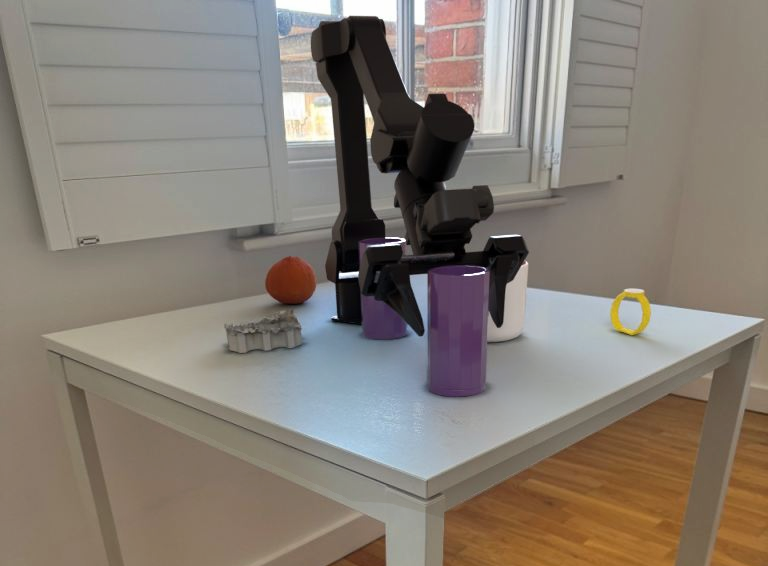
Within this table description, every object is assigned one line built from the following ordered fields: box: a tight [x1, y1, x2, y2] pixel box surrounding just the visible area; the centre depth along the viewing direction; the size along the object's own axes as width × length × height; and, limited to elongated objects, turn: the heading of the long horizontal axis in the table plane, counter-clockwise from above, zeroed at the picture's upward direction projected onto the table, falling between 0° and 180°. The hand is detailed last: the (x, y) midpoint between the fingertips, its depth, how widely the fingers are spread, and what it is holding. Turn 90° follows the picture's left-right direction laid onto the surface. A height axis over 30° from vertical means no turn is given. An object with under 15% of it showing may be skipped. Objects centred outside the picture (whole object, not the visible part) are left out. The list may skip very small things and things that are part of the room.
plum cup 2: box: [426, 265, 490, 398], centre depth 78 cm, size 7×7×13 cm
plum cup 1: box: [358, 237, 408, 341], centre depth 100 cm, size 7×7×13 cm
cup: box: [487, 260, 529, 343], centre depth 99 cm, size 10×10×10 cm
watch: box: [609, 287, 652, 336], centre depth 98 cm, size 6×3×6 cm, turn 32°
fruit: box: [264, 255, 317, 305], centre depth 123 cm, size 9×9×8 cm
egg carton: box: [224, 308, 303, 354], centre depth 99 cm, size 11×8×4 cm
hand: (461, 330), depth 76 cm, fingers open, 9 cm apart
